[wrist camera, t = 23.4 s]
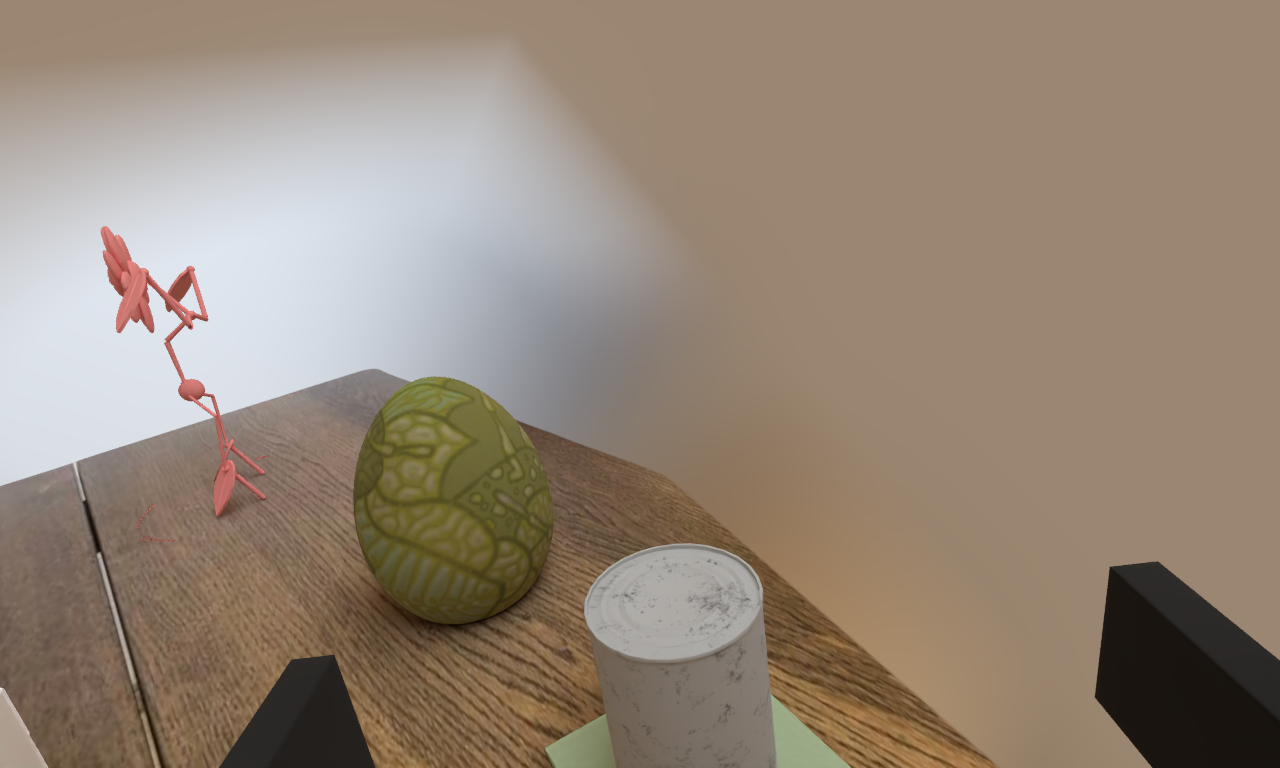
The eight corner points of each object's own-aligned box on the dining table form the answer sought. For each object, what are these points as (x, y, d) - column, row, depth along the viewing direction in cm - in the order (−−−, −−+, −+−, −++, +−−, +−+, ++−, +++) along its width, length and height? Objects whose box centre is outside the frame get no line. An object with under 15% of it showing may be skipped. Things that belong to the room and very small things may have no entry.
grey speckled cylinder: (685, 884, 34) (653, 693, 30) (587, 760, 41) (552, 595, 37) (814, 771, 39) (802, 593, 35) (706, 679, 46) (685, 525, 42)
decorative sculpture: (343, 635, 57) (267, 420, 50) (453, 529, 71) (405, 350, 65) (510, 662, 51) (449, 423, 45) (593, 540, 66) (556, 345, 59)
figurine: (269, 452, 101) (184, 213, 89) (274, 522, 79) (162, 218, 67) (149, 487, 94) (40, 235, 82) (118, 574, 72) (-36, 248, 61)
